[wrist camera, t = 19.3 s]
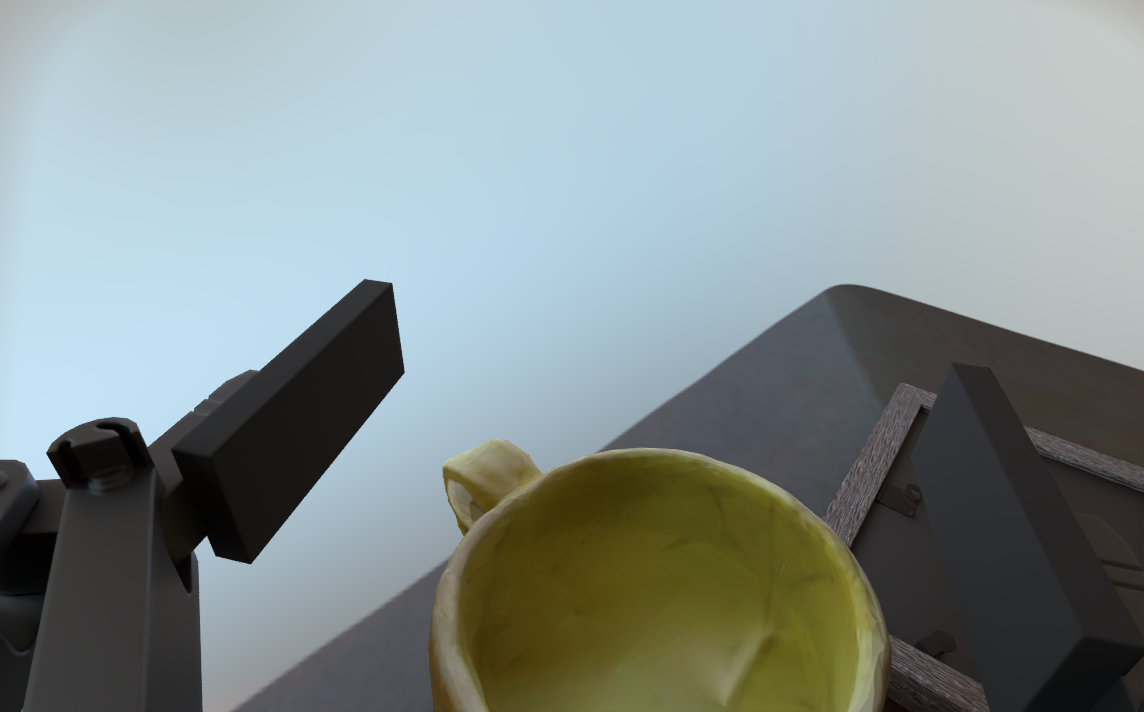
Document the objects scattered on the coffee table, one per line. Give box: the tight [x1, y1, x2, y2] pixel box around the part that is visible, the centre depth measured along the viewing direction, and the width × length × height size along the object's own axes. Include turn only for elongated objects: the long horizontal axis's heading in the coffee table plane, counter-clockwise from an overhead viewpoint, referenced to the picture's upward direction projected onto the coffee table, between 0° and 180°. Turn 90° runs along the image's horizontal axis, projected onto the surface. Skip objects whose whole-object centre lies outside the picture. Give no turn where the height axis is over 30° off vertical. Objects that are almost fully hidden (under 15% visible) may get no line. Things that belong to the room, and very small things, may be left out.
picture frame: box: [822, 382, 1144, 712], centre depth 27 cm, size 13×2×18 cm
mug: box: [428, 440, 892, 712], centre depth 16 cm, size 12×10×10 cm
